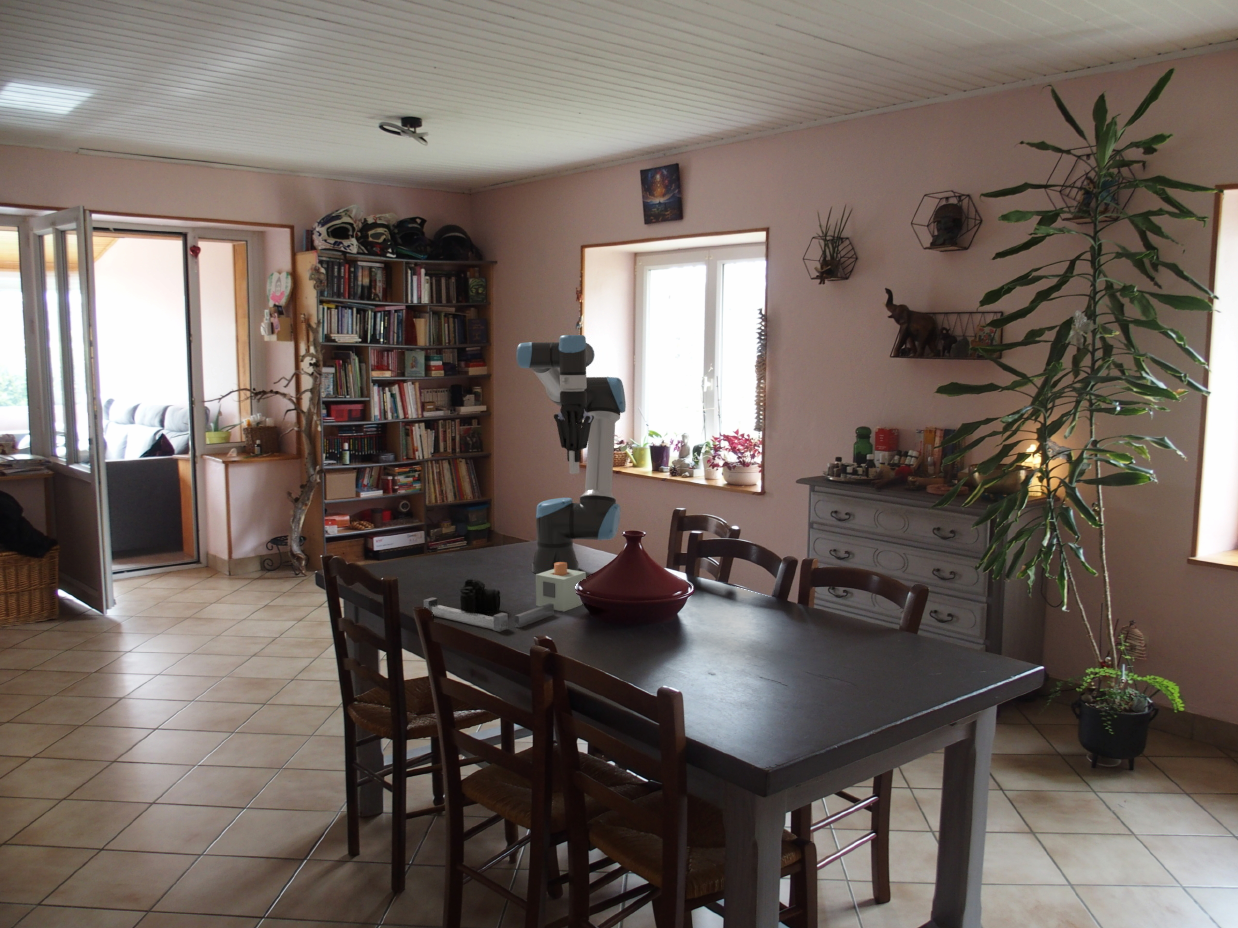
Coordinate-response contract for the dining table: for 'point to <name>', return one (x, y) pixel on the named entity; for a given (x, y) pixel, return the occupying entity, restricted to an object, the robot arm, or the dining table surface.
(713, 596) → the dining table surface
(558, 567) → the gauge button
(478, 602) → the film camera
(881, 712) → the dining table surface
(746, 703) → the dining table surface
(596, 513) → the robot arm
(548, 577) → the cabinet
